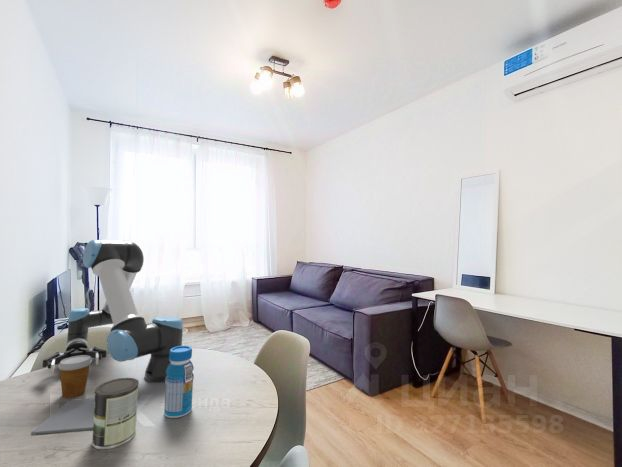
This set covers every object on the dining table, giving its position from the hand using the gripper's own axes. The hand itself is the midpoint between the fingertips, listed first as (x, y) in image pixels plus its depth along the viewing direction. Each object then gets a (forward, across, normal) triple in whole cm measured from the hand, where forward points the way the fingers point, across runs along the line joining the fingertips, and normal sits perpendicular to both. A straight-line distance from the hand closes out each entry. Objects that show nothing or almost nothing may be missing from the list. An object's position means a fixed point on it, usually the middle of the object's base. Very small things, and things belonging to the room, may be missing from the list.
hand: (75, 364), depth 114 cm
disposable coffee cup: (+10, 0, -7) cm, 12 cm away
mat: (+28, -3, -7) cm, 29 cm away
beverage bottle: (+43, -27, -7) cm, 51 cm away
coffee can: (+47, -10, -7) cm, 48 cm away
